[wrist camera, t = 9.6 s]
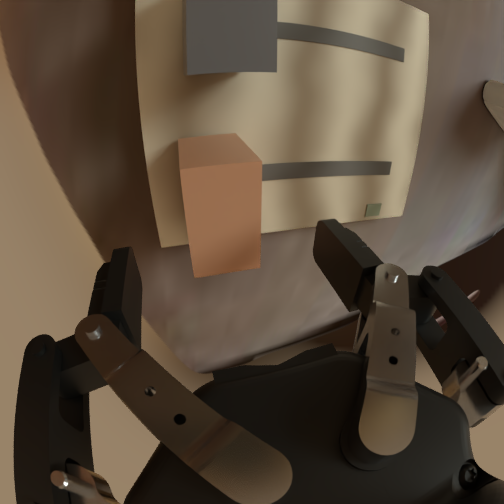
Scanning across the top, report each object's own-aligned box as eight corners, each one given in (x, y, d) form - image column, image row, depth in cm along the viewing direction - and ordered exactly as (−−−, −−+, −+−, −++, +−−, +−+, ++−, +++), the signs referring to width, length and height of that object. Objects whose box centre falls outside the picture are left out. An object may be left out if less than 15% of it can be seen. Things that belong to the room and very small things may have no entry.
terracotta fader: (235, 133, 17) (262, 161, 12) (237, 215, 20) (260, 267, 16) (177, 138, 16) (179, 169, 11) (187, 222, 20) (194, 277, 15)
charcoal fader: (244, -14, 11) (276, -47, 6) (244, 72, 15) (277, 72, 10) (182, -13, 10) (187, -50, 6) (183, 75, 14) (187, 75, 9)
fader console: (413, 14, 15) (429, 14, 13) (390, 206, 27) (402, 216, 25) (140, -21, 10) (136, -31, 9) (161, 233, 22) (161, 248, 21)
